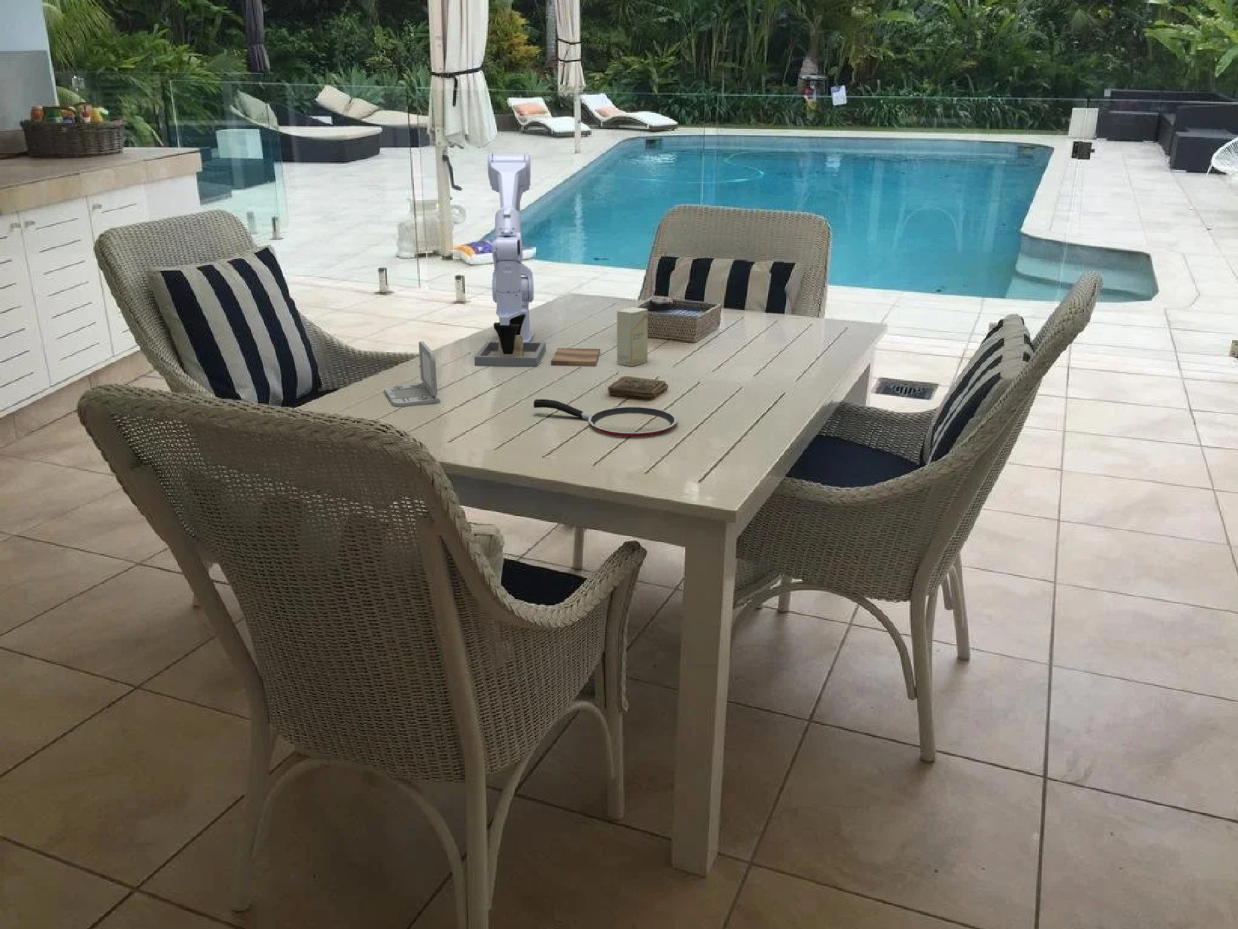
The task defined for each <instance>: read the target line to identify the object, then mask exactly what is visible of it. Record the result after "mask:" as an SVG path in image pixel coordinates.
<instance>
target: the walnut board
mask: <svg viewBox="0 0 1238 929" xmlns="http://www.w3.org/2000/svg"><path fill="white" fill-rule="evenodd" d="M600 354H601V348H572V347H571V348H570V347H569V348H566V347H563V348H561V347H557V348H556V351H554V355H553V356H552V359H551V360H550V366H570V367H571V366H576V367H596V366H597V363H598V360H599V357H600Z"/></svg>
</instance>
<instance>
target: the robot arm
mask: <svg viewBox="0 0 1238 929" xmlns="http://www.w3.org/2000/svg"><path fill="white" fill-rule="evenodd" d="M531 166H532V165H531V155H530V154H529V152H524V153H522V152H521V153H493V152H489V154H488V155H487V175H488V180H489V184H490V185H489V186H490V187H491V190H492V191H495V192H496V193H499V194H498V195H499V202H500V209H497V211H496V212H495V215H494V238H493V239H492V242H491V244H492V245H491V251H492V253H491V254H492V260H493V268H494V270H493V272H492V281H491V282H492V283H491V291H492V301H493V302H494V303H496V310H495V314H496V315H497V317H498V319H499V322H494V323H493V328H494V330H495V332H496V334H497V336H498V338H499V339H500V343H501V347H502V351H503V354H513V351H514V344H515V336H516V335H523V342H531V340H532V338H533V337H534V335H535V334H534V332H530V330H531V329H530V328H531V324H530V322H531V321H530V310H529V309H530V308H529V306H530V305H529V304H530V303H533V301H534V298H535V294H534V293H535V292H534V290H535V289H534V288H535V287H534V278H533V277H534V276H533V275H534V274H533V271H532V269H531V268H529V267H528V266H527V265H525V264H524V263H523V252H524V251H523V249H524V248H523V240H522V232H521V231H522V230H521V227H522V225H521V224H522V223H521V220H522V219H521V201H522V200H521V199H522V197H523V193H525V192H527V191H529V190H530V186H531V173H532V172H531ZM498 338H497V339H496V341H498Z"/></svg>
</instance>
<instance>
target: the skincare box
mask: <svg viewBox="0 0 1238 929" xmlns="http://www.w3.org/2000/svg"><path fill="white" fill-rule="evenodd" d="M648 311H649V310H648V308H644V307H642V308H641V307H635V306H631V307H628V308H623V309H620V310H619V309H618V310H616V363H617V365H623V366H628V367H634V366H638V365H641V364H646V363H647V362H648V343H649V341H648V336H649V334H648V333H649V332H648V331H649V330H648V329H649V328H648V325H649V323H648V322H649V321H648V320H649V319H648V318H649V316H648V315H649V313H648Z"/></svg>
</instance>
